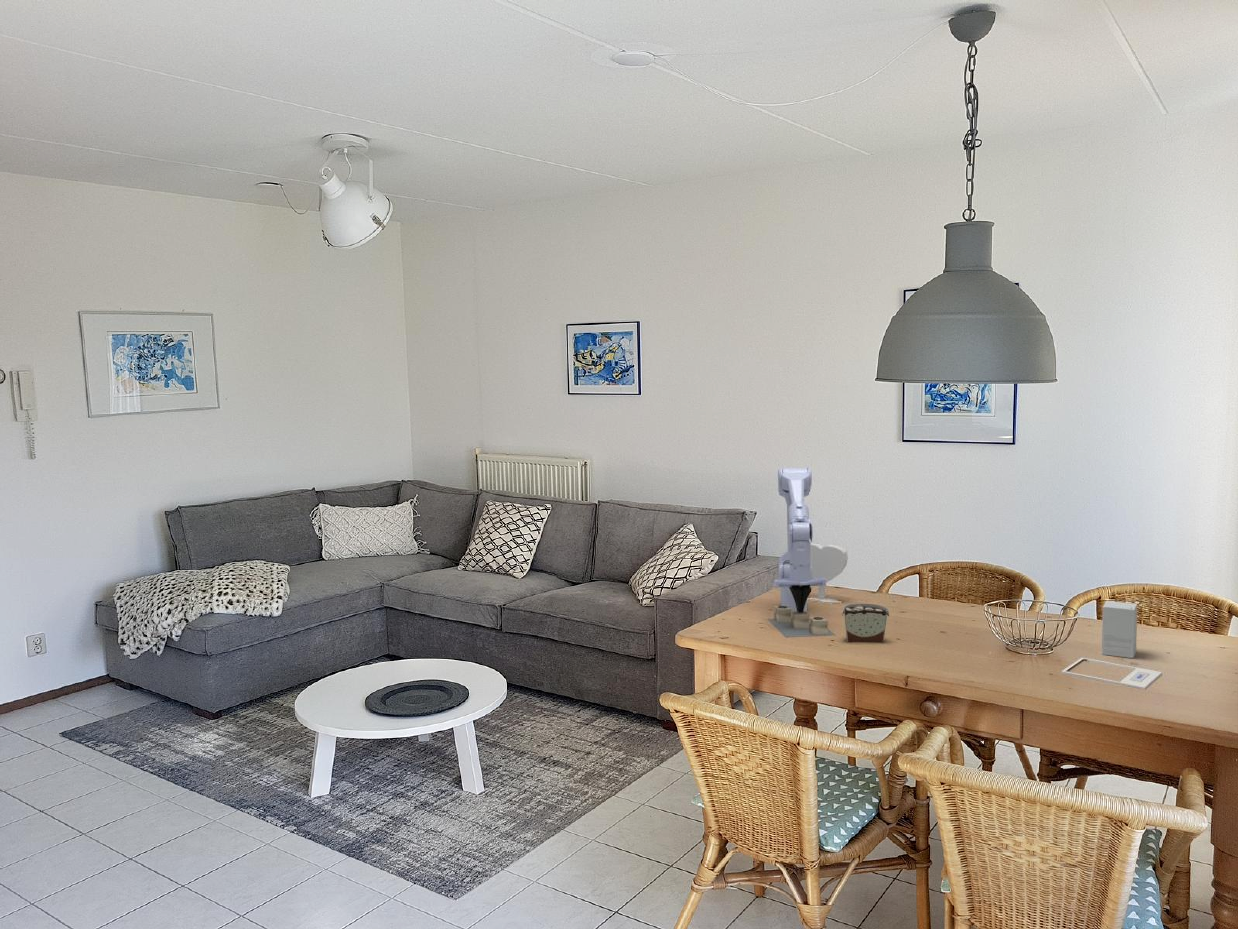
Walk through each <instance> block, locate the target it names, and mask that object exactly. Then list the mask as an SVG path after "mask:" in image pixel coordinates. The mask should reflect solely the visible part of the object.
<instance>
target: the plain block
mask: <svg viewBox="0 0 1238 929" xmlns="http://www.w3.org/2000/svg"><path fill="white" fill-rule="evenodd" d="M809 617H810V613H808V611H807V612H806V611H804V612H798V611H791V625H792V626H793V627H794V628H795V629H803V628H809Z"/></svg>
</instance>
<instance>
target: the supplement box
mask: <svg viewBox="0 0 1238 929" xmlns="http://www.w3.org/2000/svg"><path fill="white" fill-rule="evenodd" d="M1101 625H1102V629H1101V633H1102V634H1101V635H1102V637H1101V655H1105V656H1112V657H1118V658H1119V657H1120V658H1128V659H1129V658H1130V659H1134V658H1135V655H1136V654H1137V653H1136V652H1137V638H1138V637H1137V633H1138V632H1137V627H1138V603H1134V602H1133V603H1132V602H1123V601H1113V600H1111V601H1110V600H1106V602H1104V604H1103V606H1102V624H1101Z"/></svg>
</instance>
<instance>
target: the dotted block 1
mask: <svg viewBox="0 0 1238 929" xmlns="http://www.w3.org/2000/svg"><path fill="white" fill-rule="evenodd" d="M773 611H774V612H773V618H774V620H775V621H776V622H778V623H787V622H791V611H792V609H791V608H790V607H789V606H788V605H784V606H781V605H773Z"/></svg>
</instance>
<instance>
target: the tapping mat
mask: <svg viewBox="0 0 1238 929" xmlns="http://www.w3.org/2000/svg"><path fill="white" fill-rule="evenodd" d="M766 620H767V621H768V622H769V623H770V624H771V625H772V626H773V627H774V628H775V629H776V630H778V632H779V633H781V634H782V636H784V638H786V639H787V638H805V637H806V638H807V637H809V638H810V637H811V638H812V637H825V636H827V637H828V636H836V634H835V633H834V632H832V631H831V630H830V629H829V628H828V634H827V635H813V634H812V633H810V632H809V628H803V629H795V628H794V627H793V626H792V625H791V622H787V623H778V622H776V621H775V620H774V617H773V618H766Z"/></svg>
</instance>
